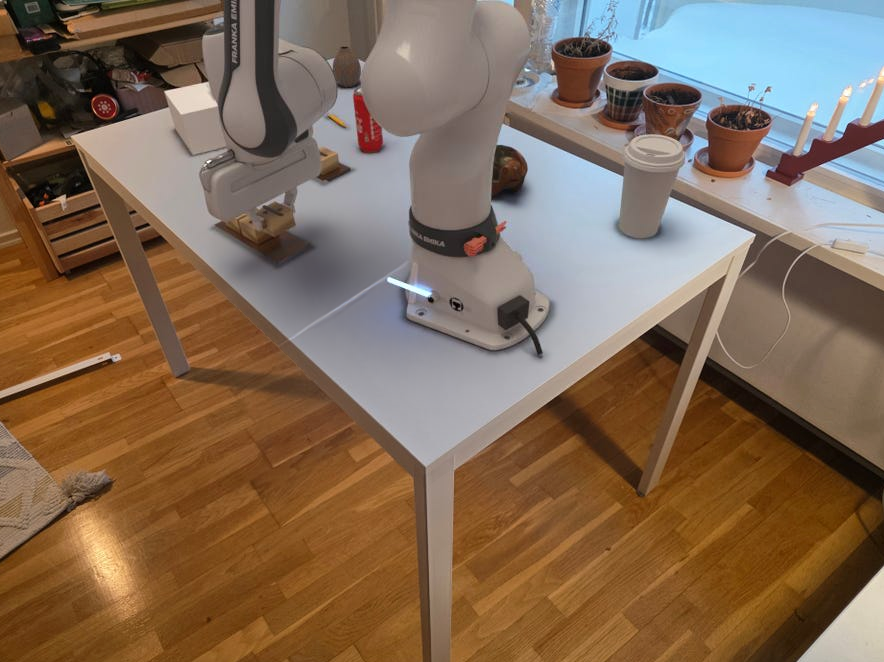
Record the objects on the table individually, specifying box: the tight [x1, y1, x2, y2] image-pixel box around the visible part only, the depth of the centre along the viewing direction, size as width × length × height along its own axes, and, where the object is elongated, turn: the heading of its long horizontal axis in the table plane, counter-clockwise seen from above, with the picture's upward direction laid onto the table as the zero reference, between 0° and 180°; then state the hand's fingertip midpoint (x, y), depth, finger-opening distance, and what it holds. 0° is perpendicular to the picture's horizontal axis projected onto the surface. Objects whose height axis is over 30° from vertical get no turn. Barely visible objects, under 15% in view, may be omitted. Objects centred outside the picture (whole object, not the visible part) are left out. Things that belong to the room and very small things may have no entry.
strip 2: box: [315, 146, 351, 182], centre depth 131 cm, size 18×7×4 cm, turn 48°
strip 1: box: [214, 207, 311, 264], centre depth 111 cm, size 18×7×4 cm, turn 48°
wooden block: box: [255, 201, 296, 237], centre depth 105 cm, size 5×4×3 cm
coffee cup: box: [618, 133, 686, 239], centre depth 106 cm, size 10×10×15 cm
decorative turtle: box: [491, 144, 529, 199], centre depth 120 cm, size 10×15×8 cm, turn 22°
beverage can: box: [352, 86, 384, 154], centre depth 132 cm, size 5×5×12 cm
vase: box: [332, 45, 362, 88], centre depth 159 cm, size 7×7×9 cm
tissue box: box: [163, 81, 227, 156], centre depth 141 cm, size 14×25×11 cm, turn 120°
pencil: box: [326, 112, 347, 128], centre depth 145 cm, size 1×8×1 cm, turn 34°
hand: (275, 220), depth 105 cm, fingers closed on wooden block, 4 cm apart
